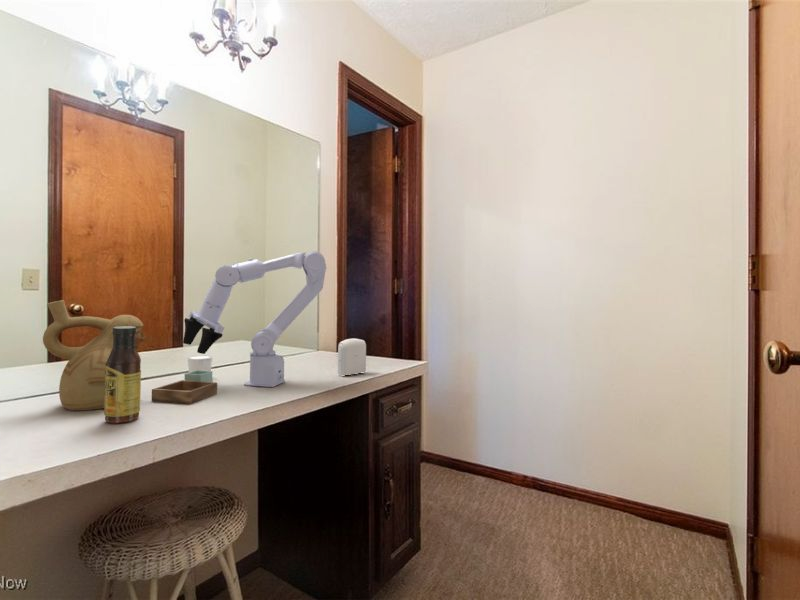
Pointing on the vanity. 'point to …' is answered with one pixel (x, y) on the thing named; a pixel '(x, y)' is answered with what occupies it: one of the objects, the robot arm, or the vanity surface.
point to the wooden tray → (184, 392)
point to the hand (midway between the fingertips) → (193, 348)
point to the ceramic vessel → (85, 356)
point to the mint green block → (199, 376)
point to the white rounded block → (199, 363)
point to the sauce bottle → (122, 378)
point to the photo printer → (351, 356)
